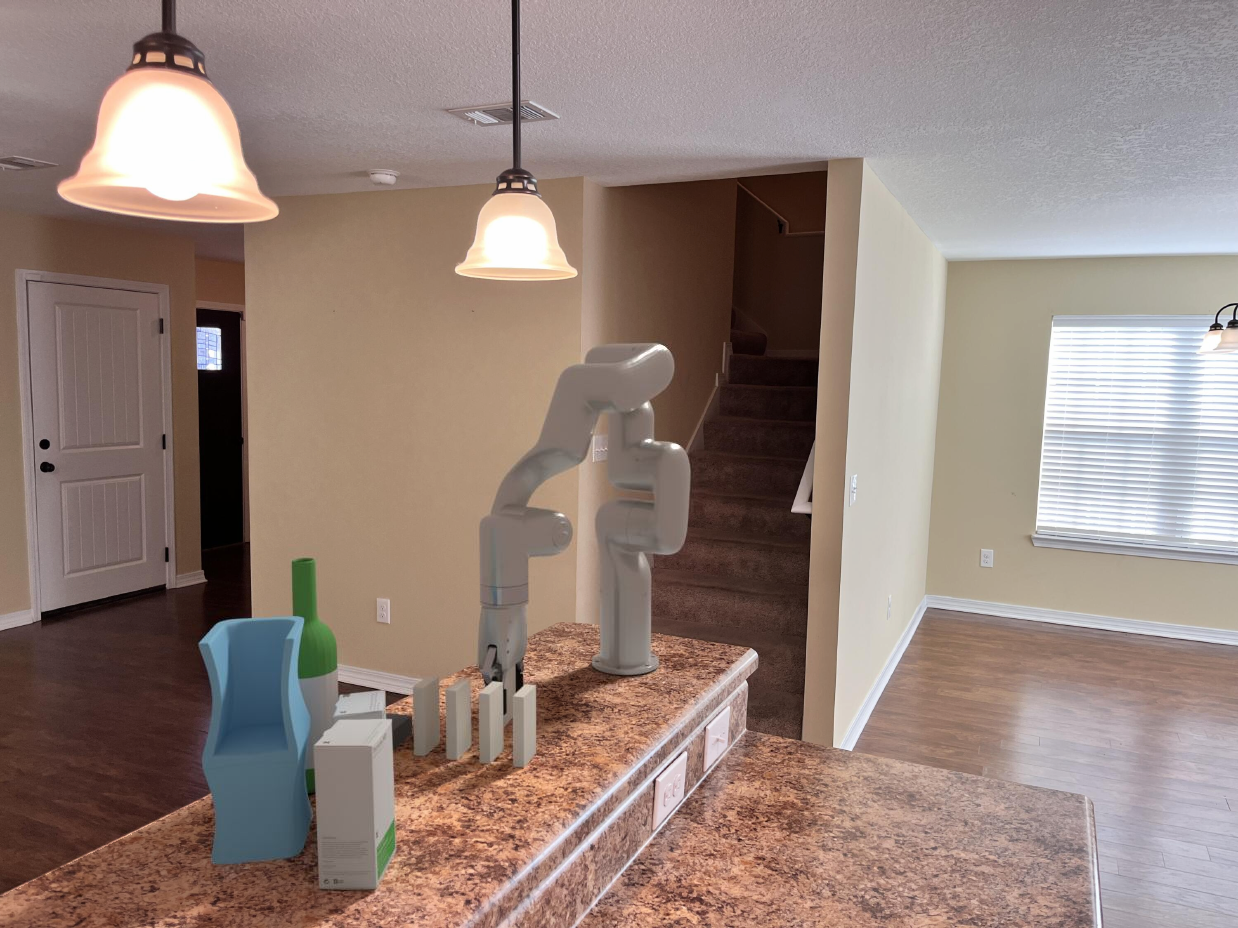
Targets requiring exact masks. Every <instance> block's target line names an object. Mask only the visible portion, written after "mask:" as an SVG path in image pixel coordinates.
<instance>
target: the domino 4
mask: <svg viewBox="0 0 1238 928" xmlns="http://www.w3.org/2000/svg"><path fill="white" fill-rule="evenodd" d="M494 668H497V669H501V668H502V665H495V666H494ZM494 676H497V678H498V680H499V679H500V673H494ZM504 689H507V713H506V714H505V715H503V727H506V725H507V724H509V722H511V720H513V696H514V695H515V694H516V667H515V665H514V666H513V667H512V668H510V669H509V670H508V671H507V672H506V678H505V685H504Z"/></svg>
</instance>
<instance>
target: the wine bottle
mask: <svg viewBox="0 0 1238 928" xmlns="http://www.w3.org/2000/svg"><path fill="white" fill-rule="evenodd" d="M316 570H317V569H316V560H315V559H314V558H311V557H302V558H296V559H293V560H292V561H291V587H292V588H291V591H292V594H291V595H292V597H291V599H292V616H299V617H303V618H304V624H303V629H302V634H301V640H300V646H299V654H298V672H297V673H298V681H299V686H300V690H301V694H302V697H303V700H304V702H305V705H306V708H307V710H308V712H309V715H310V726H311V727H310V732H309V739H308V745H307V753H306V766H305V777H306V787H307V793H308V794H314V793H316V792H315V768H314V745H315V744H316V743H317V742H318V741H319V740H320V739H321V738H322V737H323V733H324V732H325V731H327V730H329V729H330V728H331V727H332V726H333V715H334V713H335V710H336V706H335V704H336V703H337V702H338V698H339V675H338V673H339V671H338V645H337V640H336V637H335V634H334V633H333V631H332V630H331V628H330V627H329V626H328V625H327V624H325V623H324V622H322V621H321V620H320V619H319V618H318V601H317V598H318V597H317V596H318V595H317V571H316Z"/></svg>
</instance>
